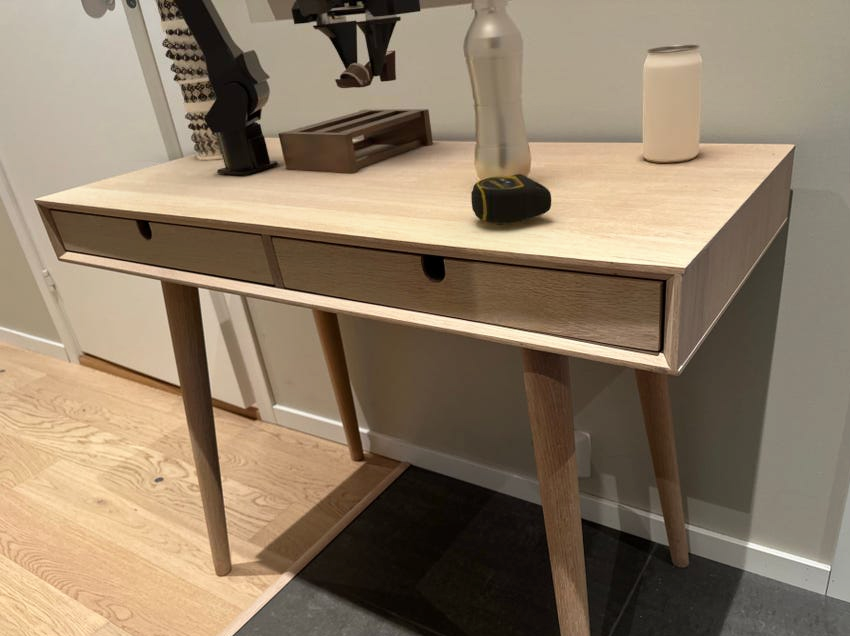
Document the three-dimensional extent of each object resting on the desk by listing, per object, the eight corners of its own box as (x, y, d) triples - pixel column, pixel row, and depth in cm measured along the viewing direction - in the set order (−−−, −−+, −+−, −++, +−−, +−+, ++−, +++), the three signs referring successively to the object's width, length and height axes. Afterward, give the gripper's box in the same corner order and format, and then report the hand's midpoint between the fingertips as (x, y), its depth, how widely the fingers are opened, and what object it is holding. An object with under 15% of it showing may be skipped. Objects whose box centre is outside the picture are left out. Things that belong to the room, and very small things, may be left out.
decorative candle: (262, 149, 118) (221, -20, 106) (212, 162, 112) (163, -15, 100) (234, 146, 123) (192, -15, 112) (185, 158, 118) (135, -10, 106)
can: (710, 154, 83) (716, 43, 77) (672, 166, 80) (675, 52, 74) (668, 148, 88) (671, 44, 82) (631, 159, 85) (631, 51, 79)
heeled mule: (326, 91, 96) (320, 61, 94) (386, 79, 103) (381, 50, 101) (347, 92, 93) (341, 60, 91) (406, 79, 100) (402, 49, 98)
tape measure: (555, 222, 66) (553, 182, 64) (486, 235, 65) (482, 195, 63) (529, 205, 72) (526, 168, 70) (465, 217, 70) (461, 180, 69)
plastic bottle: (468, 192, 79) (446, -8, 70) (488, 176, 85) (470, -11, 75) (522, 191, 77) (507, -15, 68) (540, 175, 82) (528, -17, 73)
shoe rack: (286, 169, 101) (278, 133, 99) (369, 141, 114) (364, 109, 111) (352, 173, 94) (345, 134, 92) (433, 143, 107) (428, 109, 105)
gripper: (247, -43, 90) (275, 86, 97) (351, -62, 80) (374, 84, 87) (312, -46, 98) (334, 74, 105) (414, -63, 87) (430, 71, 95)
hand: (364, 76), depth 98 cm, fingers closed on heeled mule, 4 cm apart
